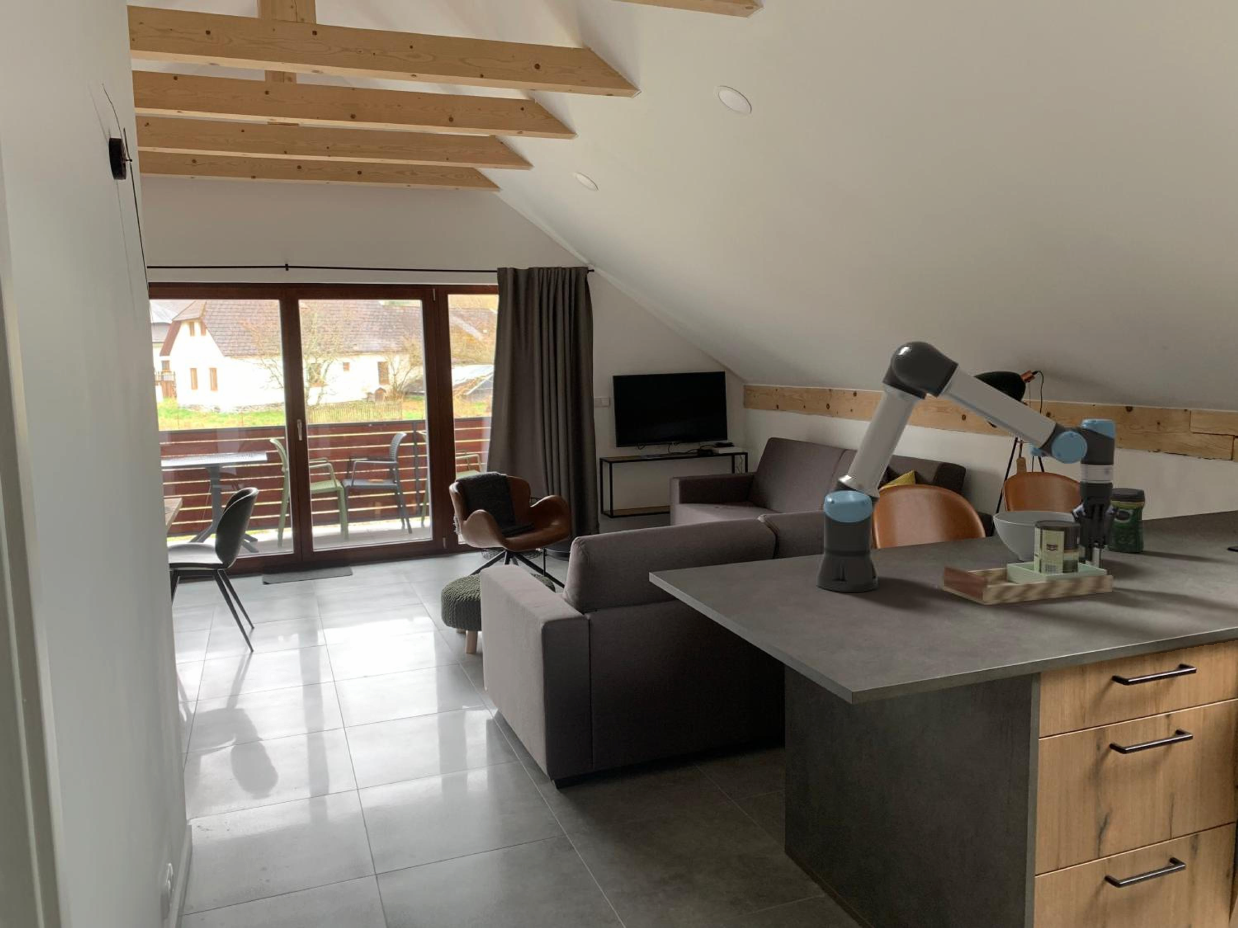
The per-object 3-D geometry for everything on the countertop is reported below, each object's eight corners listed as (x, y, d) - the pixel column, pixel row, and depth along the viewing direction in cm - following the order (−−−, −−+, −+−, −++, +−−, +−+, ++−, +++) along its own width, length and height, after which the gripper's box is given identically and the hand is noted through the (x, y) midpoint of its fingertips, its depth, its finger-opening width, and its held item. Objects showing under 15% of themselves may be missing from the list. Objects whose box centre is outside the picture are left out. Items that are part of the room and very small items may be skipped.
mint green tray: (1045, 592, 222) (1046, 575, 221) (1006, 579, 235) (1007, 564, 234) (1106, 585, 227) (1106, 569, 227) (1064, 574, 240) (1065, 558, 240)
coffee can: (1071, 574, 235) (1074, 520, 233) (1083, 584, 225) (1086, 527, 223) (1028, 573, 237) (1030, 519, 235) (1038, 582, 227) (1040, 526, 225)
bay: (984, 605, 216) (985, 579, 215) (941, 589, 231) (942, 565, 230) (1112, 591, 226) (1113, 567, 226) (1063, 577, 242) (1064, 554, 241)
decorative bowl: (1045, 547, 279) (1046, 508, 278) (1118, 566, 254) (1120, 522, 252) (971, 554, 270) (972, 514, 269) (1039, 574, 245) (1041, 529, 244)
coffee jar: (1146, 550, 274) (1149, 488, 272) (1138, 554, 268) (1141, 491, 266) (1110, 546, 280) (1113, 485, 278) (1102, 550, 275) (1105, 488, 273)
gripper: (1086, 483, 226) (1082, 578, 229) (1129, 481, 230) (1124, 574, 232) (1063, 480, 233) (1059, 572, 236) (1105, 477, 237) (1100, 568, 240)
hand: (1091, 573), depth 234 cm, fingers closed
